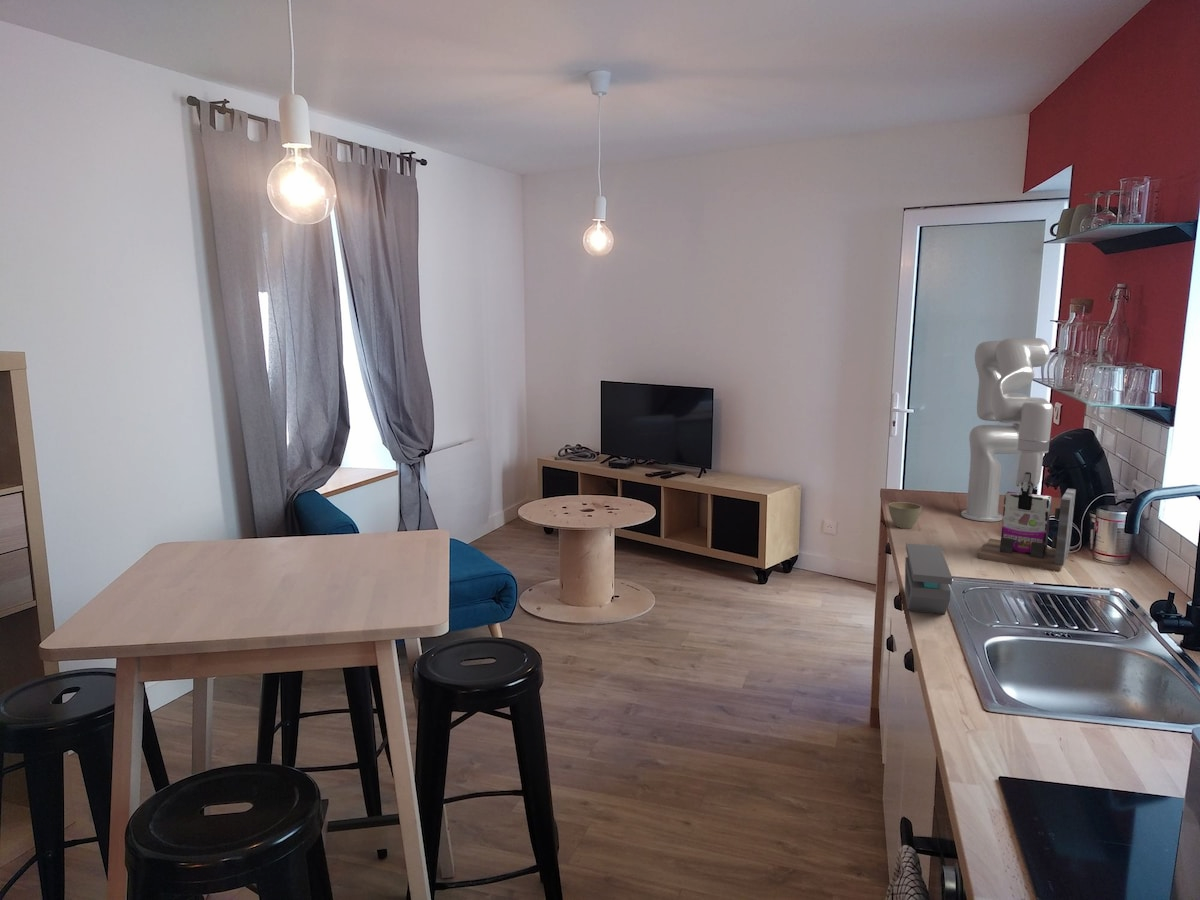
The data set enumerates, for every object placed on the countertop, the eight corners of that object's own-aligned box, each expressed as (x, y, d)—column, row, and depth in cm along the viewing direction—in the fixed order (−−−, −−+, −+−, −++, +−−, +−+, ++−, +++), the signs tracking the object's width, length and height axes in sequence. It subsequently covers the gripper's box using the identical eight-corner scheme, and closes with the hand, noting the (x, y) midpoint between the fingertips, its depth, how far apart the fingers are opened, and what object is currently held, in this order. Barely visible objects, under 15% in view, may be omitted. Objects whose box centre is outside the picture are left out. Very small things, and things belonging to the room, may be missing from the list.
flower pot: (914, 523, 252) (916, 502, 250) (924, 531, 242) (926, 509, 241) (883, 522, 253) (885, 501, 251) (892, 530, 243) (893, 508, 242)
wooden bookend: (989, 543, 229) (995, 479, 226) (1069, 555, 217) (1076, 488, 213) (977, 558, 214) (983, 490, 211) (1062, 572, 202) (1069, 500, 199)
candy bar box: (1046, 552, 215) (1052, 495, 212) (1044, 556, 211) (1049, 499, 208) (1002, 545, 221) (1007, 490, 219) (999, 549, 217) (1004, 493, 215)
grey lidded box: (948, 625, 167) (952, 578, 165) (910, 621, 170) (913, 574, 168) (937, 588, 191) (940, 546, 189) (903, 584, 193) (906, 543, 191)
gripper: (1022, 440, 220) (1016, 497, 223) (1012, 449, 206) (1006, 510, 209) (1052, 442, 215) (1046, 501, 218) (1044, 452, 202) (1037, 514, 205)
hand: (1027, 505), depth 214 cm, fingers open, 9 cm apart
